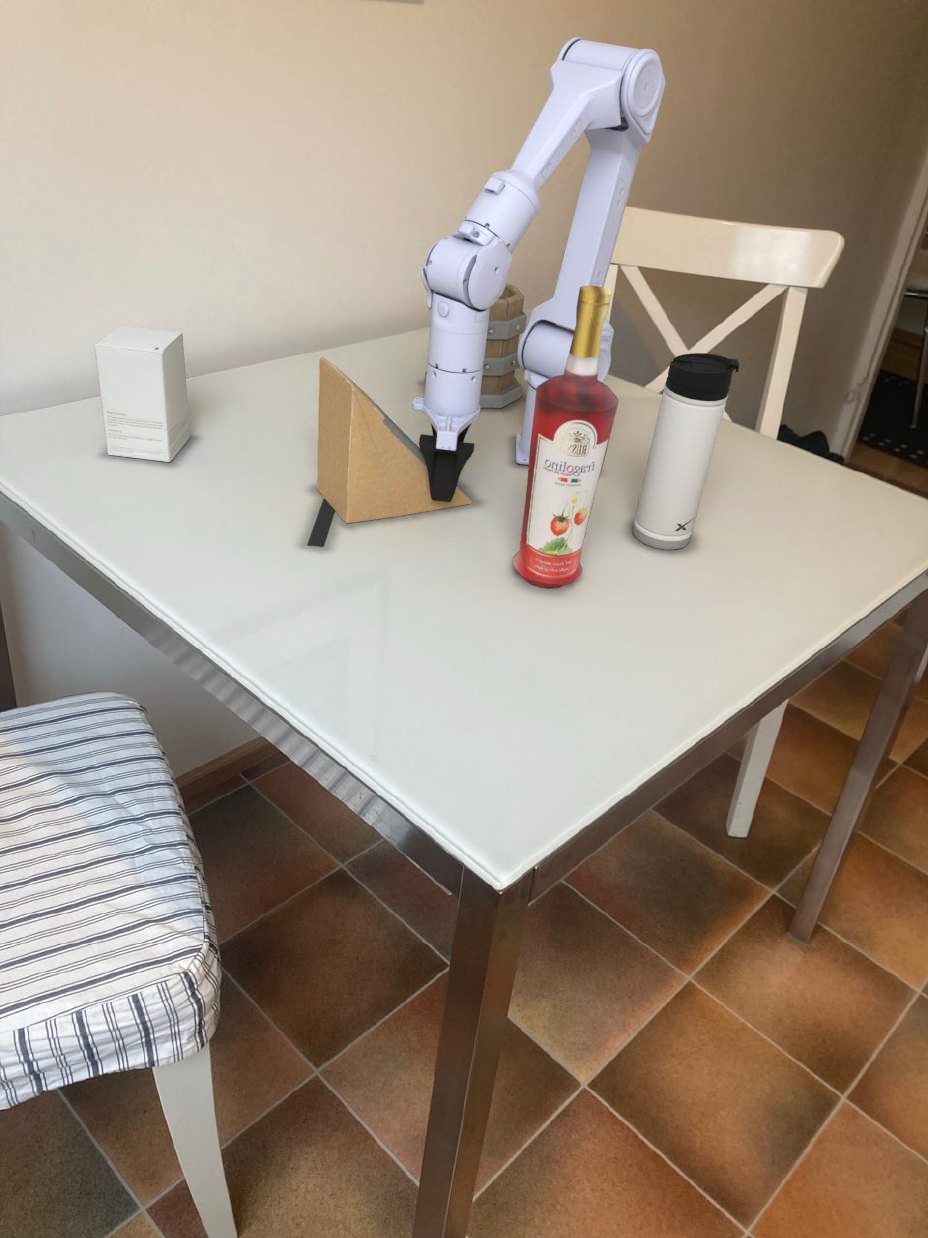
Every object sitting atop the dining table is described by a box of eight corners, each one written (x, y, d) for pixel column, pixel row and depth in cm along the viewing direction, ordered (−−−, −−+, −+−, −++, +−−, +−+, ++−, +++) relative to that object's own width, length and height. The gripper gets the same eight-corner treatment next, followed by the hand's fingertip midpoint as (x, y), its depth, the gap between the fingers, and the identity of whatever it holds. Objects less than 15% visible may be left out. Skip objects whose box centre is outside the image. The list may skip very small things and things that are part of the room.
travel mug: (692, 556, 104) (741, 373, 93) (630, 544, 105) (671, 361, 93) (692, 529, 109) (739, 352, 98) (633, 517, 110) (673, 341, 99)
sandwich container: (475, 504, 109) (492, 373, 100) (346, 525, 102) (353, 386, 93) (440, 471, 115) (452, 344, 106) (316, 488, 108) (319, 354, 99)
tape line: (355, 447, 118) (355, 446, 118) (323, 547, 98) (323, 546, 98) (342, 445, 118) (342, 445, 118) (307, 545, 98) (307, 544, 98)
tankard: (528, 409, 133) (544, 297, 125) (437, 408, 130) (447, 293, 122) (492, 356, 149) (504, 254, 141) (410, 355, 146) (417, 250, 138)
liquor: (578, 560, 101) (633, 282, 85) (585, 599, 95) (645, 307, 79) (507, 554, 100) (548, 273, 85) (510, 593, 94) (555, 298, 79)
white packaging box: (192, 437, 115) (185, 331, 108) (169, 464, 109) (161, 353, 102) (130, 429, 116) (120, 322, 108) (104, 455, 109) (91, 343, 102)
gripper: (421, 335, 106) (412, 451, 114) (410, 384, 94) (400, 510, 102) (486, 343, 106) (473, 458, 114) (483, 392, 94) (468, 518, 102)
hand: (443, 483), depth 108 cm, fingers open, 7 cm apart
